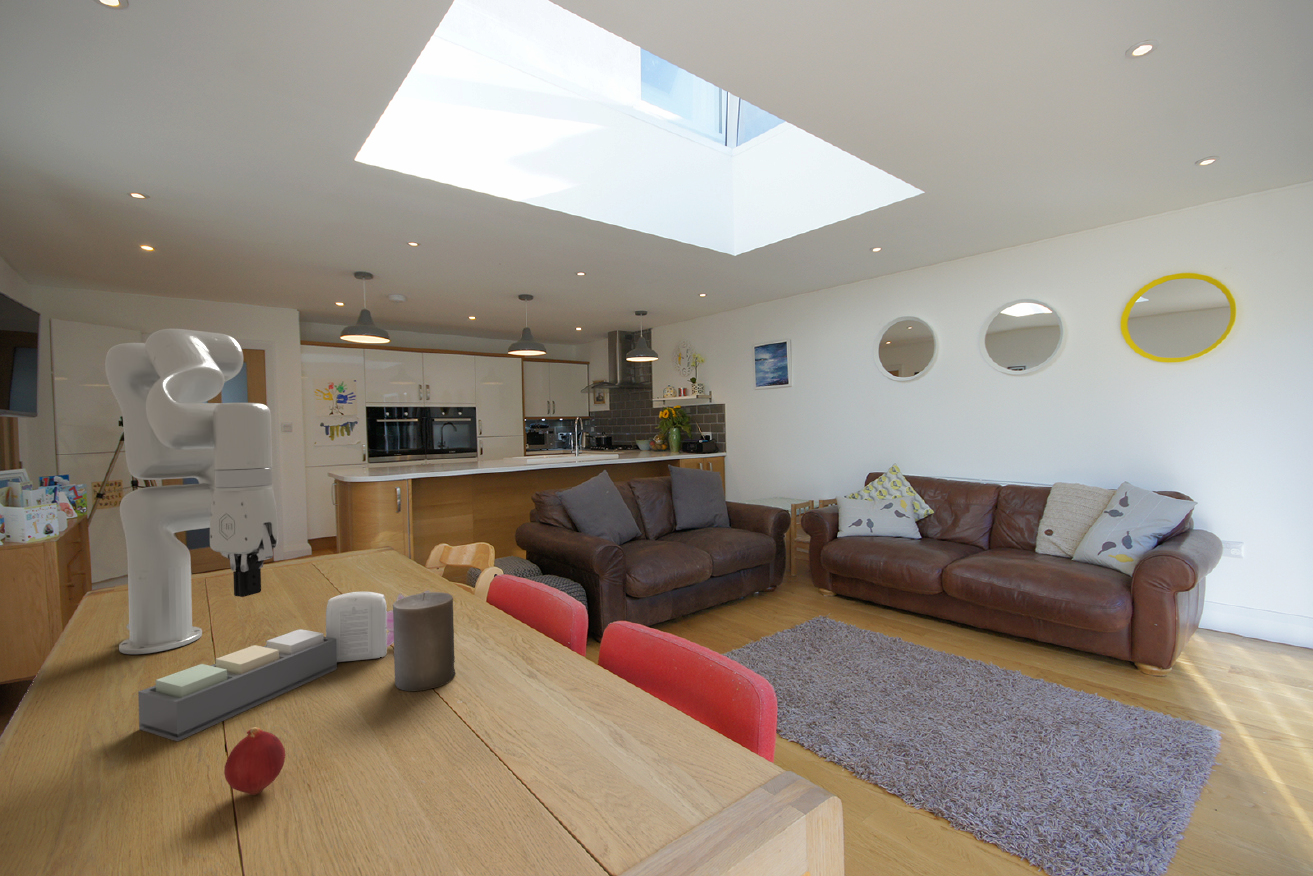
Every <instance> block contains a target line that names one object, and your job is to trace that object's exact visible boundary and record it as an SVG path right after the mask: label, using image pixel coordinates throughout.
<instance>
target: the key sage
mask: <svg viewBox="0 0 1313 876" xmlns="http://www.w3.org/2000/svg"><path fill="white" fill-rule="evenodd" d="M225 680H227V670H226V669H222V668H218V667H213V666H211V665H208V664H205V663H200V664H197V665H195V666H191V667H189V668H186V669H184V670H179V671H178V672H174V673H172V674H171V673H170V674H169V675H166V676H164V677H160V678H157V679H155V685H156V692H157V693H161V694H165V695H168V696H172V697H176V698H182V697H185V696H187V695H190V694H192V693H195V692H197V691H200V690H203V689H205V688H208V687H210V686H213V685H215V684H218V683H220V682H223V681H225Z"/></svg>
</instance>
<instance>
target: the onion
mask: <svg viewBox="0 0 1313 876" xmlns="http://www.w3.org/2000/svg"><path fill="white" fill-rule="evenodd" d="M246 734H247V735H246V736H244V737H243V738H242V739H241V740H240V741H239V742H238V743H237V744H236V745H235V746H234V747H233V748H232V749H231V751H230V753H229V755H228V757H227V759H226V761H225V764H224V771H223V774H224V777H225V781H226V782H227V784H228V785H229V786H230V787H231V789H233V790H236V791H238V792H241V793H244V794H248V795H250V796H257V795H259V794H261V793H262V792H263V791H264V790H265V789H267V787H269V785H271V784H272V783H273V782H274V781H275V780H276V779H277V777H278V776H279V775H280V773H281V771H282V769H283V767H284V764H285V760H286V751H285V750H286V749H285V747H284V745H283V743H282V741H281V739H280V738H279V737H277V736H276V735H275V734H273V733H271V732H269V731H264V730H262V729H260V728H259V727H258V726H257V727H256V726H255V727H251V728H249V730H248V731H246Z"/></svg>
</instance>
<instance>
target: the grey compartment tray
mask: <svg viewBox="0 0 1313 876" xmlns="http://www.w3.org/2000/svg"><path fill="white" fill-rule="evenodd" d="M262 647H267V644H265V645H264V646H262ZM210 666H213V667H216V663H214V664H211V665H210ZM336 669H337V670H338V662H337V646H336V639H334V638H329V637H326V636H324V642H322V643H320V644H317V645H315V646H312V647H310V648H307V649H304V650H302V651H299V652H297V653H294V654H292V655H289V654H284V653H279V660H276V661H274V662H271V663H269V664H266V665H264V666H261V667H259V668H256V669H254V670H251V671H248V672H246V673H243V674H241V675H239V674H235V673H231V672H227V680H225V681H223V682H220V683H218V684H215V685H213V686H210V687H208V688H205V689H203V690H200V691H197V692H195V693H192V694H190V695H187V696H185V697H182V698H176V697H172V696H168V695H165V694H161V693H157V692H156V684H155V685H152V686H149V687H147V688H145V689H144V688H143V689H142V690H138V693H137V694H138V725H139V726H138V729H139V730H140V731H143V732H146V733H150V734H153V735H156V736H159V737H162V738H166V739H169V740H172V741H175V742H180V741H182V740H185V739H186V738H188V737H190V736H193V735H196V734H197V733H199V732H201V731H203V730H206V729H208V728H210V727H213V726H215V725H217V724H219V723H221V722H223V721H226V720H228V719H231V718H233V717H235V716H237V715H240V714H241V713H243V712H246V711H248V710H250V709H253V708H254V707H256V706H259V705H261V704H264V703H266V702H268V701H270V700H272V699H275V698H277V697H279V696H282V695H283V694H286V693H288V692H290V691H293V690H294V689H296V688H299V687H301V686H304V685H306V684H308V683H310V682H312V681H314V680H316V679H318V678H320V677H323V676H325V675H327V674H329V673H331V672H334V671H336Z"/></svg>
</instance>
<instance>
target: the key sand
mask: <svg viewBox="0 0 1313 876" xmlns="http://www.w3.org/2000/svg"><path fill="white" fill-rule="evenodd" d="M276 660H279V650H277V649H272V648H267V647H263V646H261V645H256V644H254V645H253V644H252V645H251V646H248V647H245V648H242V649H240V650H237V651H234V652H231V653H229V654H225V655H223V656H220V657H216V658H215V664H216V667H218V668H222V669H226V670H227V672H231V673H235V674H239V675H241V674H243V673H246V672H248V671H251V670H254V669H256V668H259V667H261V666H264V665H266V664H269V663H271V662H274V661H276Z"/></svg>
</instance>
